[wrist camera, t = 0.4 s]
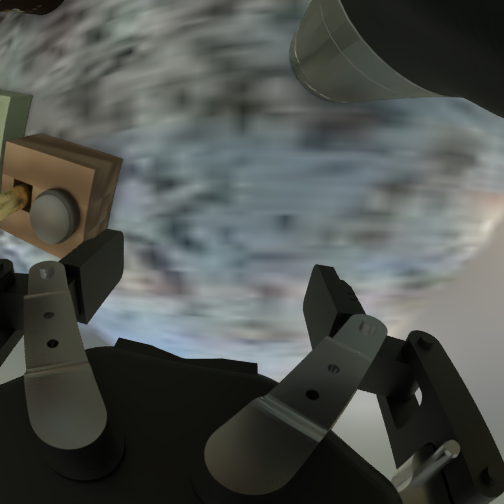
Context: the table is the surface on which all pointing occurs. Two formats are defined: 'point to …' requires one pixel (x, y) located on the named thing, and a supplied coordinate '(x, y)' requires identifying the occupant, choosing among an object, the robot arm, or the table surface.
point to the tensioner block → (59, 191)
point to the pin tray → (12, 120)
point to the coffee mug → (29, 6)
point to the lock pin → (15, 199)
